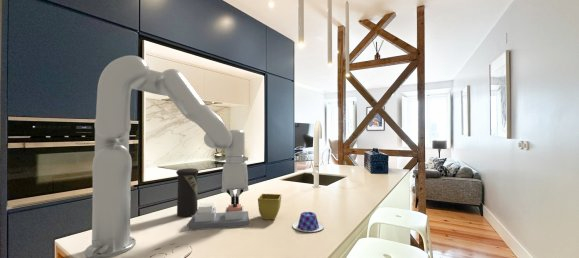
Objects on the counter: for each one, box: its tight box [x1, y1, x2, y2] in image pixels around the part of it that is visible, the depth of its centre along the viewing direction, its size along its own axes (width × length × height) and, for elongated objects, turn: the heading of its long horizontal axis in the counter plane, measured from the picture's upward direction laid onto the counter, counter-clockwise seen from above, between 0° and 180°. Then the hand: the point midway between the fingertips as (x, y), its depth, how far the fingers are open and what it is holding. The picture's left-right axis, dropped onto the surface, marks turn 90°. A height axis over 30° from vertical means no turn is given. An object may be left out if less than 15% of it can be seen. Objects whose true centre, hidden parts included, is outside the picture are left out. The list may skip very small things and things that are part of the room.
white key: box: [198, 202, 214, 213], centre depth 98 cm, size 5×5×3 cm
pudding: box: [292, 211, 325, 233], centre depth 95 cm, size 12×12×5 cm
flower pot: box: [257, 193, 282, 220], centre depth 105 cm, size 9×9×9 cm
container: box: [175, 167, 199, 218], centre depth 109 cm, size 9×9×20 cm
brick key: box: [227, 203, 242, 212], centre depth 100 cm, size 5×5×3 cm
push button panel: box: [187, 205, 250, 231], centre depth 99 cm, size 12×22×5 cm, turn 101°
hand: (235, 205), depth 100 cm, fingers closed
